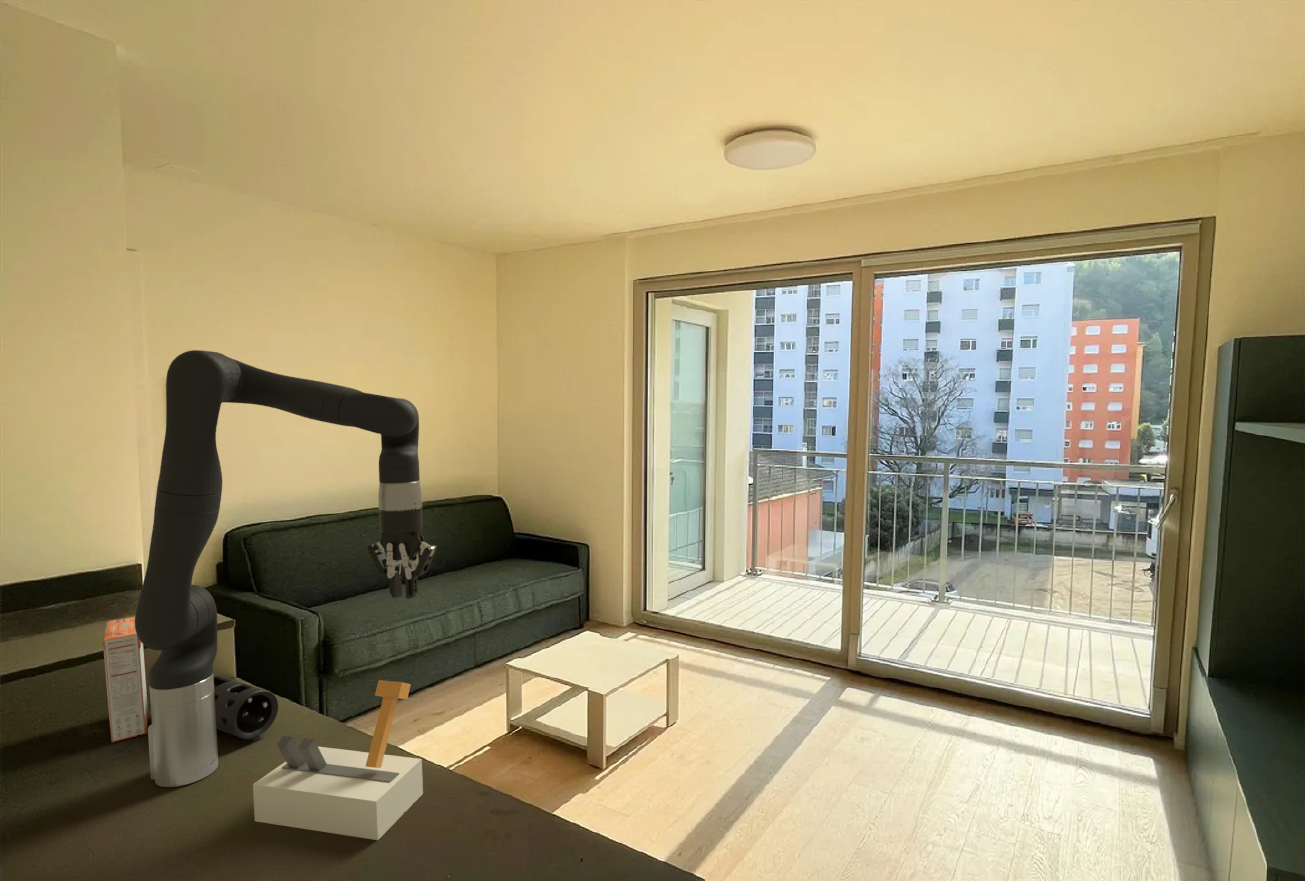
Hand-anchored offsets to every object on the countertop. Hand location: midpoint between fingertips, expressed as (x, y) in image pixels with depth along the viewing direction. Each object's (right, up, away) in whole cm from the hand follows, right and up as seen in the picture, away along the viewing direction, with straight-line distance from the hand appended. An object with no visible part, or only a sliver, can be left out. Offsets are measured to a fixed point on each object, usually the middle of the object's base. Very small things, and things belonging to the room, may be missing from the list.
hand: (404, 596), depth 124 cm
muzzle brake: (-43, -29, +11) cm, 53 cm away
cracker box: (-61, -30, +12) cm, 69 cm away
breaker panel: (-4, -30, -17) cm, 35 cm away
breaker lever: (+2, -23, -18) cm, 30 cm away
